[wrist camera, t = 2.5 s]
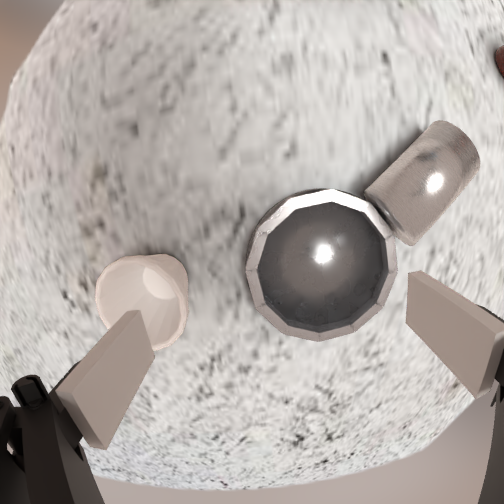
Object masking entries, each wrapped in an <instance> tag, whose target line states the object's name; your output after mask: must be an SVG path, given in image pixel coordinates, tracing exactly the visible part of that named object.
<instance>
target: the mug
mask: <svg viewBox="0 0 504 504" xmlns="http://www.w3.org/2000/svg"><path fill="white" fill-rule="evenodd" d="M495 57H496V62H497V66H498V68H499V70H500V72H501V73H502V75H503V76H504V45H503V46H501V47H499V48H498V50H497V51H496V54H495Z"/></svg>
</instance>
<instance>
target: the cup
mask: <svg viewBox="0 0 504 504" xmlns="http://www.w3.org/2000/svg"><path fill="white" fill-rule="evenodd" d="M95 301H96V305H97V309H98V313H99V316H100V318H101V319H102V321H103V322H104V324H105V326H106V327H107V329H108V330H109V329H110V328H111V327H112V326H113V325H114V324H115V323H116V322H117V321H118V320H119V319H120V318H121V317H122V316H123V315H124V314H125V312H126V311H132V310H140V311H141V314H142V318H143V321H144V324H145V328H146V331H147V334H148V337H149V340H150V343H151V346H152V349H153V350H155V351H157V350H160V349H162V348H165V347H168V346H170V345H172V344H173V343H174V342H175V341H176V340H177V339H178V338H179V336H180V335H181V334H182V333H183V331H184V328H185V325H186V321H187V318H188V314H189V308H188V277H187V272H186V270H185V268H184V267H183V265H182V263H180V262H179V261H178V260H177V259H176V258H174V257H172V256H169V255H167V254H156V255H148V256H143V255H138V256H125V257H122V258H120V259H118V260H117V261H115V262H113V263H112V264H110V265H108V266H106V267H105V268H104V270H103V272H102V273H101V275H100V277H99V278H98V280H97V283H96V291H95Z"/></svg>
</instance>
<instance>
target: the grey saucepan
mask: <svg viewBox="0 0 504 504" xmlns="http://www.w3.org/2000/svg"><path fill="white" fill-rule="evenodd" d="M479 169H480V158H479V154H478V152H477V150H476V148H475V146H474V144H473V143H472V141H471V140H470V139H469V137H468V136H467V135H466V134H465V133H464V132H463V131H462V130H460V129H459V128H458V127H456V126H455V125H453V124H451V123H449V122H446V121H440V120H439V121H435V122H433V123H432V124H431V125H430V126H429V127H428V128H427V129H426V130H425V131H424V132H423V133H422V134H421V135H420V136H419V138H418V139H417V140H416V141H415V142H414V143H413V144H412V145H411V146H410V147H409V148H408V149H407V150H406V151H405V152H404V153H403V154H402V155H401V156H400V157H399V158H398V159H397V160H396V161H395V162H394V163H393V164H392V165H391V166H390V167H389V168H388V169H386V170H385V171H384V172H383V173H382V174H381V175H380V176H379V177H378V178H377V179H376V180H375V181H374V182H373V183H372V184H371V185H370V186H369V187H368V188H367V189H366V190H365V191H364V197H365V199H366V201H367V202H366V201H364V200H361V199H360V198H358V197H356V196H354V195H352V194H349V193H347V192H343V191H340V190H334V189H311V190H305V191H302V192H298V193H295V194H293V195H291V196H289V197H287V198H285V199H283V200H282V201H280V202H279V203H277V204H276V205H275V206H274V207H272V208H271V209H270V210H269V211H268V212H267V213H266V214H265V216H264V217H263V218H262V219H261V221H260V222H259V224H258V225H257V227H256V229H255V231H254V232H253V234H252V237H251V240H250V243H249V246H248V251H247V257H246V268H245V272H246V276H247V281H248V286H249V288H250V291H251V294H252V298H253V301H254V305H255V308H256V309H257V310H258V311H259V312H260V313H261V314H262V315H263V316H264V317H265V318H266V319H267V320H268V321H269V322H270V323H272V324H273V325H274V326H275V327H276V328H277V329H278V330H279V331H280V332H281V333H283V334H285V335H290V336H294V337H299V338H303V339H308V340H312V341H317V342H318V341H319V342H320V341H324V340H328V339H332V338H336V337H339V336H343V335H347V334H350V333H354V331H355V332H356V331H357V330H358V329H359V328H360V327H361V326H363V325H364V324H365V323H366V322H367V321H368V320H370V319H371V318H372V317H373V316H374V315H375V314H376V313H377V312H379V311H380V310H381V309H382V308H383V307H382V306H384V305H385V302H386V300H387V298H388V295H389V293H390V290H391V288H392V285H393V283H394V280H395V278H396V275H397V273H398V272H397V271H398V268H397V257H396V247H395V239H394V235H395V236H396V237H397V238H398V239H400V240H401V241H402V242H404V243H405V244H407V245H409V246H414V245H415V244H416V243H417V242H418V241H419V240H420V239H421V237H422V236H423V235H424V234H425V233H426V232H427V231H428V230H429V229H430V228H431V227H432V226H433V225H434V223H435V222H436V221H437V220H438V219H439V218H440V217H441V216H442V214H443V213H444V212H445V211H446V210H447V209H448V208H449V206H450V205H451V204H452V203H453V202H454V201H455V199H456V198H457V197H458V196H459V195H460V193H461V192H462V191H463V190H464V189H465V187H466V186H467V185H468V184H469V182H470V181H471V180H472V179H473V177H474V176H475V175H476V174H477V172H478V171H479ZM393 234H394V235H393Z"/></svg>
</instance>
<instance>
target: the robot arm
mask: <svg viewBox="0 0 504 504" xmlns="http://www.w3.org/2000/svg"><path fill="white" fill-rule="evenodd" d="M406 324H407V325H408V326H409V327H410V328H411V329H412V330H413V331H414V332H415V333H416V334H417V335H418V336H419V337H420V338H421V339H422V340H423V341H424V342H425V344H426V345H427V346H428V347H429V348H430V349H431V350H432V351H433V352H434V353H435V354H436V355H437V356H438V357H439V358H440V360H441V361H442V362H443V363H444V364H445V365H446V366H447V367H448V368H449V369H450V370H451V372H452V373H453V374H454V375H455V376H456V377H457V378H458V379H459V380H460V382H461V383H462V384H463V385H464V386H465V387H466V388H467V390H468V391H469V392H470V393H471V394H472V395H473V396H474V398H475V399H477V398H479V397H481V396H482V395H484V394H486V393H488V392H490V389H491V387H492V384H493V382H494V379H496V380H497V381H498V382H499V386H498V388H497V391H496V393H495V396H494V398H493V401H492V403H491V406H493V405H494V403H495V402H496V410H495V421H494V429H493V438H492V444H491V450H490V456H489V461H488V466H487V471H486V475H485V479H484V483H483V487H482V491H481V494H480V498H479V502H478V504H504V320H503V319H501V318H500V317H498V316H497V315H495V314H494V313H492V312H491V311H489V310H488V309H486V308H485V307H482V306H479V305H476V304H474V303H473V302H471V301H470V300H468V299H466V298H465V297H463V296H462V295H460V294H459V293H457V292H455V291H454V290H452V289H451V288H449V287H447V286H446V285H444V284H442V283H441V282H439V281H437V280H436V279H434V278H432V277H431V276H429V275H427V274H426V273H424V272H422V271H416V272H411V273H408V294H407V311H406ZM154 359H155V355H154V352H153V349H152V346H151V343H150V340H149V337H148V334H147V331H146V328H145V324H144V321H143V318H142V314H141V311H140V310H132V311H126V312H125V314H124V315H123V316H122V317H121V318H120V319H119V320H118V321H117V322H116V323H115V324H114V325H113V326H112V327H111V328H110V329H109V331H108V332H107V333H106V334H105V335H104V336H103V337H102V338H101V339H100V340H99V341H98V343H97V344H96V345H95V346H94V347H93V348H92V349H91V350H90V351H89V352H88V354H87V355H86V356H85V357H84V358H83V359H82V360H80V361H79V362H77V363H76V364H74V366H73V367H72V368H71V369H70V370H69V371H68V372H69V373H66V375H65V376H64V378H62V379H61V380H60V381H59V382H58V384H57V385H56V386H55V387H54V388H53V389H52V391H51V392H50V393H49V394H48V392H47V390H46V389H45V387H44V385H43V383H42V381H41V379H40V377H39V376H37V375H28V376H24V377H22V378H20V379H19V380H17V381H16V382H15V383H14V384H13V385H12V388H11V390H12V392H13V394H14V395H15V397H16V399H17V401H18V402H19V404H20V406H21V407H14V406H13V404H12V403H11V401H10V399H9V398H8V397H6V396H1V397H0V504H105V503H104V501H103V498H102V496H101V494H100V492H99V489H98V487H97V484H96V482H95V480H94V477H93V474H92V472H91V469H90V466H89V464H88V461H87V458H86V455H85V452H84V449H83V448H82V446H81V445H80V443H79V442H80V440H81V439H82V437H84V439H85V440H86V442H87V443H88V444H89V446H90V447H93V448H98V449H103V450H107V448H108V446H109V444H110V442H111V440H112V438H113V436H114V434H115V432H116V430H117V428H118V426H119V425H120V423H121V421H122V419H123V417H124V415H125V413H126V411H127V409H128V407H129V405H130V403H131V401H132V400H133V398H134V396H135V394H136V392H137V390H138V388H139V386H140V384H141V383H142V381H143V379H144V377H145V375H146V373H147V371H148V370H149V368H150V366H151V364H152V362H153V360H154ZM7 443H8V444H9V445H10V447H11V448H12V449H13V454H10V452H9V451H8V450H7Z"/></svg>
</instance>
